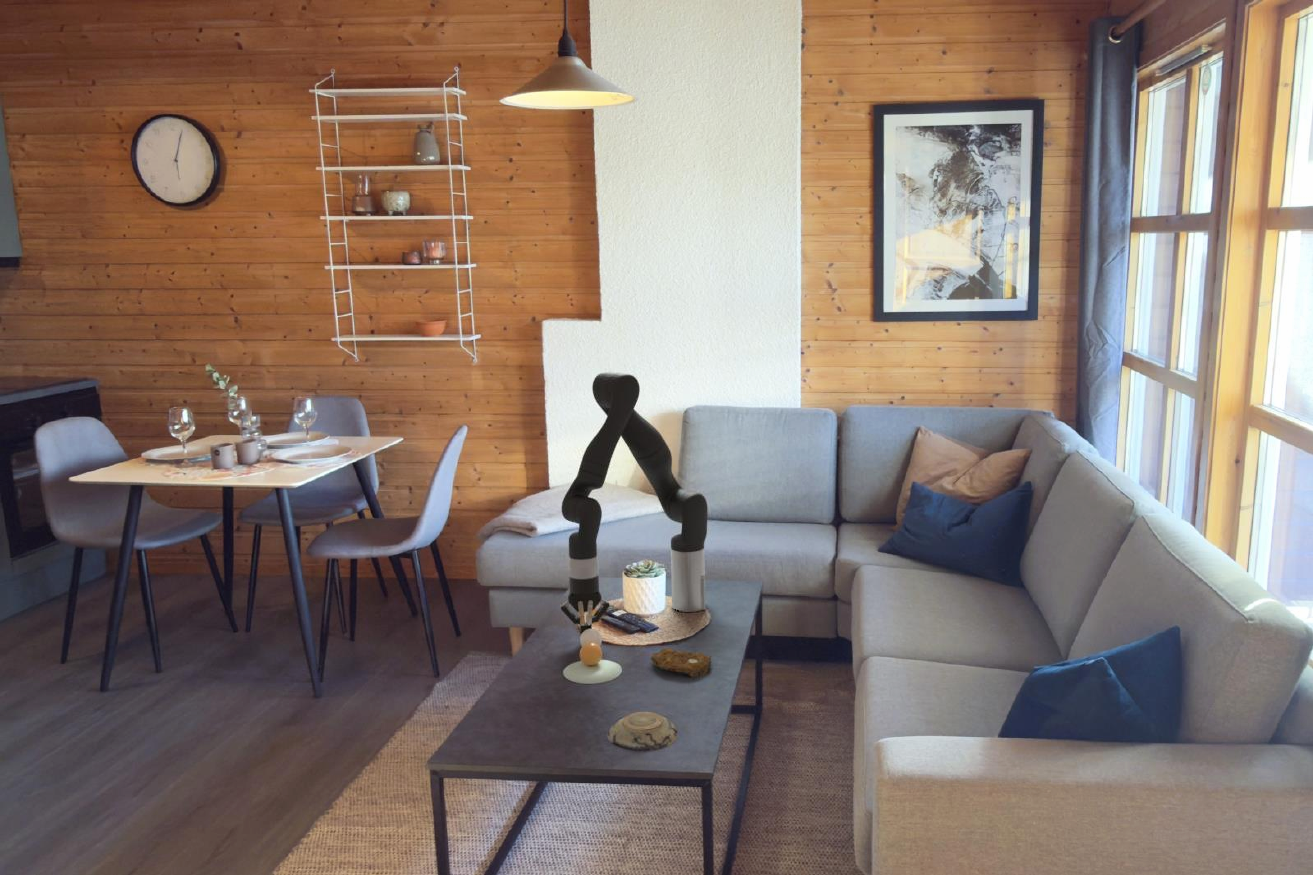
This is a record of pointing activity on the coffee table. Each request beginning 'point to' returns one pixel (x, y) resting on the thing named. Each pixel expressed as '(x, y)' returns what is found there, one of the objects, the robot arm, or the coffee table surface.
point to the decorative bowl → (643, 732)
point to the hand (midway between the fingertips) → (586, 637)
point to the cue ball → (590, 637)
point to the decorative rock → (682, 662)
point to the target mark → (592, 672)
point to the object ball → (590, 654)
